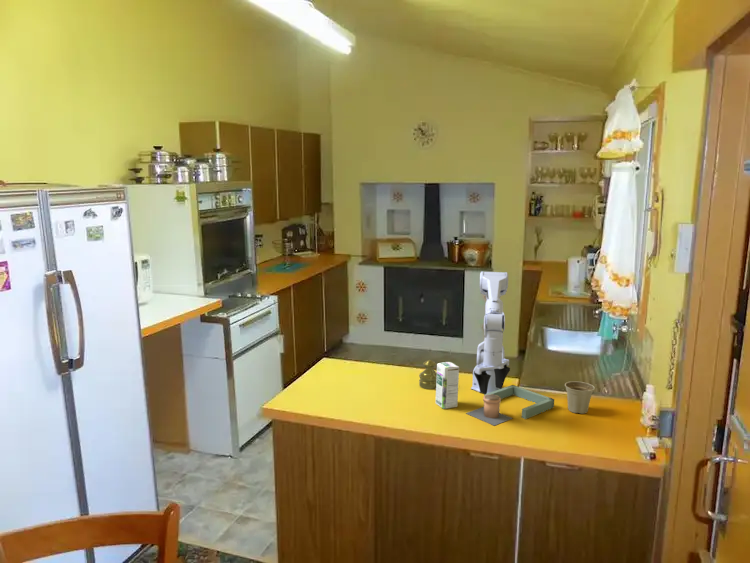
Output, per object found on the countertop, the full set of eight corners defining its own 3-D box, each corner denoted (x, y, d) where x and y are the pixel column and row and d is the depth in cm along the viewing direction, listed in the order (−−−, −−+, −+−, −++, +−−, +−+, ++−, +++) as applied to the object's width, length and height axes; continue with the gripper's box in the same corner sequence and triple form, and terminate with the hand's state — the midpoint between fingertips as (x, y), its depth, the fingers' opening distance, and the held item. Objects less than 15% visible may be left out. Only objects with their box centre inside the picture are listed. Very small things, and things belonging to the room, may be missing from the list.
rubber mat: (466, 413, 187) (466, 413, 187) (484, 407, 192) (484, 406, 192) (494, 425, 177) (494, 425, 177) (512, 418, 183) (512, 418, 183)
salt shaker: (429, 391, 206) (430, 364, 205) (415, 385, 212) (415, 360, 210) (443, 386, 211) (443, 360, 210) (428, 381, 217) (429, 356, 215)
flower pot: (569, 402, 196) (570, 379, 195) (596, 409, 191) (598, 385, 189) (558, 411, 189) (560, 386, 188) (587, 418, 183) (588, 393, 182)
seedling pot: (479, 414, 186) (479, 396, 185) (490, 410, 189) (491, 393, 188) (492, 420, 181) (493, 402, 180) (503, 415, 185) (504, 398, 184)
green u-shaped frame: (483, 402, 196) (484, 394, 196) (512, 392, 206) (512, 384, 205) (525, 419, 183) (525, 410, 182) (553, 407, 192) (554, 399, 192)
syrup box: (434, 403, 195) (435, 363, 192) (449, 400, 197) (450, 361, 195) (443, 409, 190) (444, 368, 187) (458, 406, 192) (459, 366, 190)
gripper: (487, 357, 174) (485, 399, 176) (517, 349, 183) (515, 389, 185) (470, 352, 179) (468, 392, 182) (500, 344, 188) (498, 383, 190)
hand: (491, 390), depth 184 cm, fingers open, 7 cm apart
